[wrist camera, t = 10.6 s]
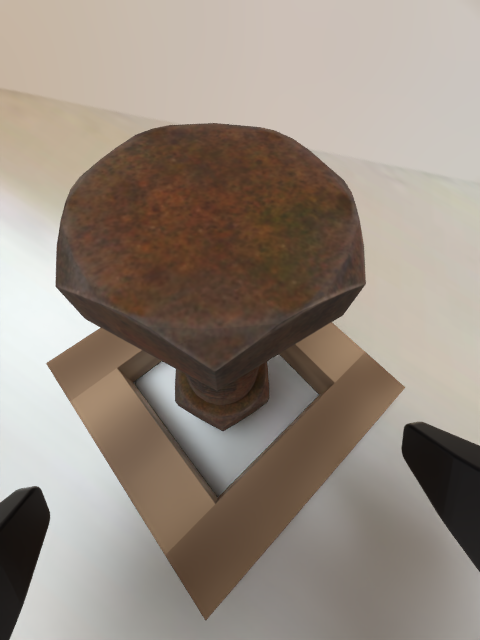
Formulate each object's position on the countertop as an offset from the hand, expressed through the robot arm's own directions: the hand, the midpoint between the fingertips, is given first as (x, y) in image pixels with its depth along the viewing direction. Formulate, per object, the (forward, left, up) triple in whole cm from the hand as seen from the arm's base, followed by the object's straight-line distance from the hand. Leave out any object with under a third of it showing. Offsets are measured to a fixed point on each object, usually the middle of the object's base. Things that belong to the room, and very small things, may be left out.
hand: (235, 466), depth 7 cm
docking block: (+4, -3, -11) cm, 11 cm away
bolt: (+3, -2, -11) cm, 12 cm away
